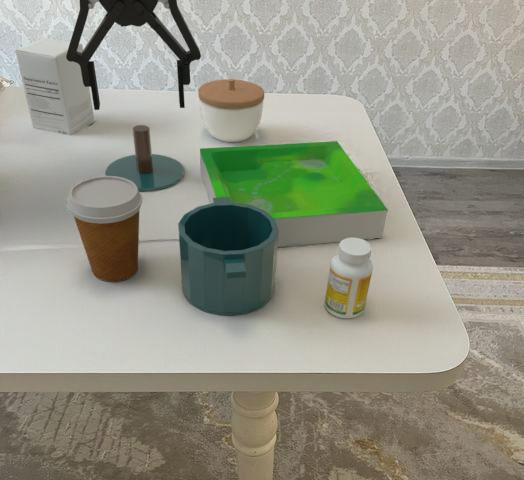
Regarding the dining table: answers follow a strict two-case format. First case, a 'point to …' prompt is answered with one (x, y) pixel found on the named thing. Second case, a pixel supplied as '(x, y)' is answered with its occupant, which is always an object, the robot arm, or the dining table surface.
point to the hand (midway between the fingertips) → (140, 106)
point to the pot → (228, 257)
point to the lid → (146, 165)
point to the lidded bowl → (231, 108)
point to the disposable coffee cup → (108, 224)
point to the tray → (297, 190)
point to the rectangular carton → (54, 87)
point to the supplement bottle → (349, 278)
